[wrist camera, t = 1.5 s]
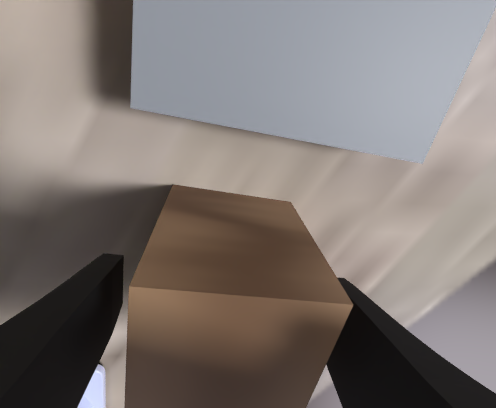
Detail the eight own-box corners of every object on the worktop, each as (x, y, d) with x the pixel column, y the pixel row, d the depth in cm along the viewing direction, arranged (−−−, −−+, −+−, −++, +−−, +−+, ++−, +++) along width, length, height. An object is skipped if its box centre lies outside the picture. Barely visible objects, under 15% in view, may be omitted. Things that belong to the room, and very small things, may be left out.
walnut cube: (163, 281, 13) (123, 429, 7) (172, 184, 11) (128, 286, 5) (264, 290, 14) (296, 428, 8) (290, 201, 12) (353, 304, 6)
